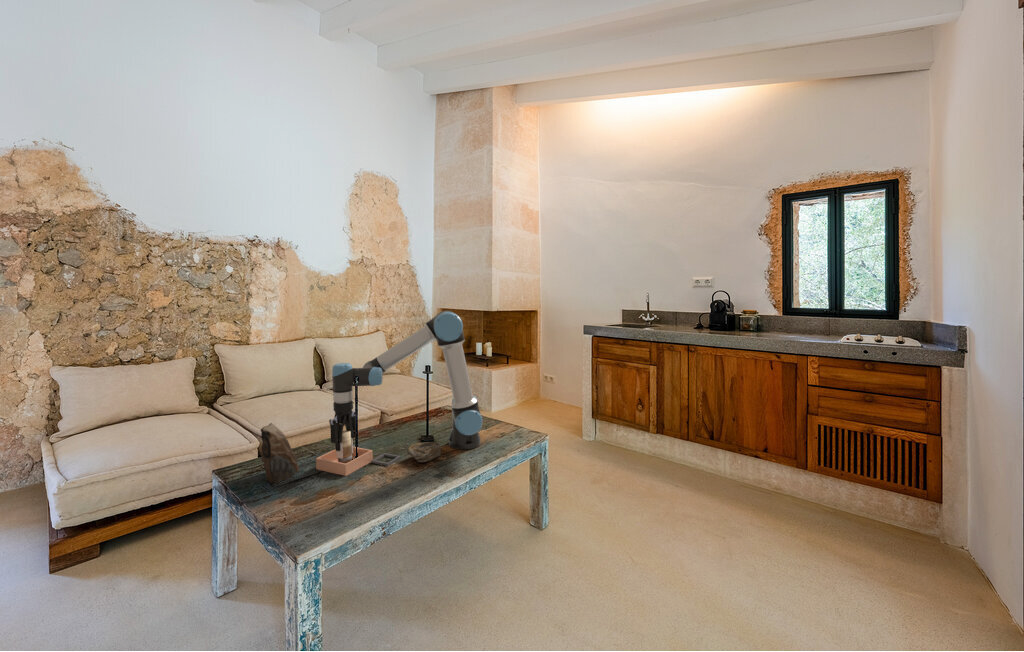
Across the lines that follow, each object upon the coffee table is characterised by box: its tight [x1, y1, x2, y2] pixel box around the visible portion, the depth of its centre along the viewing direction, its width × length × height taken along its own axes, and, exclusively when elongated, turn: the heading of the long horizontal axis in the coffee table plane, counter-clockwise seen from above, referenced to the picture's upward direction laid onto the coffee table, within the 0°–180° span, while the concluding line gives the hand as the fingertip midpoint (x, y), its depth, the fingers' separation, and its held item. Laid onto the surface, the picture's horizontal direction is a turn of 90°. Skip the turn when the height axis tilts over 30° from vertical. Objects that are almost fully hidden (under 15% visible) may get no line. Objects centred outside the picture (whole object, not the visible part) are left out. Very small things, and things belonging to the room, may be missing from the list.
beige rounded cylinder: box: [338, 430, 352, 463], centre depth 174 cm, size 6×6×12 cm
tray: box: [315, 446, 374, 477], centre depth 175 cm, size 16×16×5 cm
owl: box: [259, 422, 301, 484], centre depth 164 cm, size 13×13×20 cm
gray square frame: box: [370, 452, 402, 467], centre depth 180 cm, size 9×9×1 cm
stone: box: [407, 441, 442, 463], centre depth 181 cm, size 14×10×10 cm
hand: (345, 455), depth 175 cm, fingers closed on beige rounded cylinder, 5 cm apart
